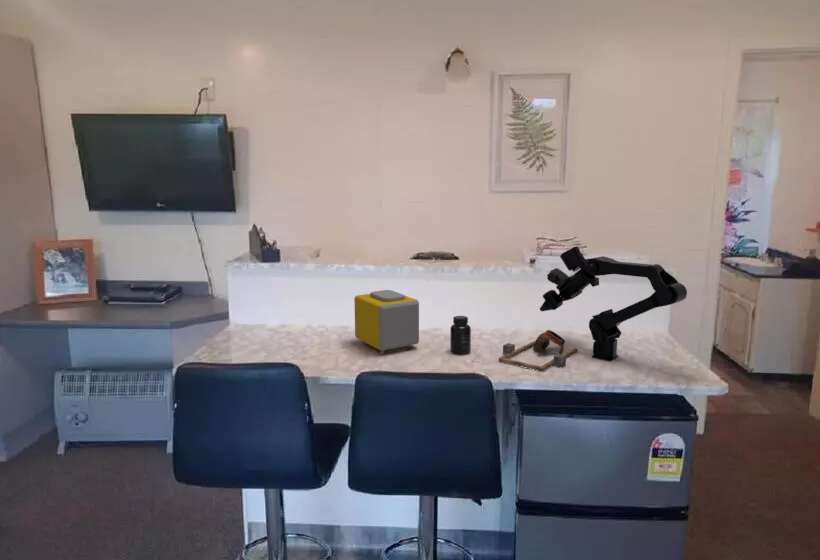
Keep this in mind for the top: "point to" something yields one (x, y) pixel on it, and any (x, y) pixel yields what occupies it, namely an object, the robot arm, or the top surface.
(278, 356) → the top surface
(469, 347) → the supplement bottle
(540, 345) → the brown broken pot
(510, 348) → the wooden u-shaped frame
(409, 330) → the alarm clock
